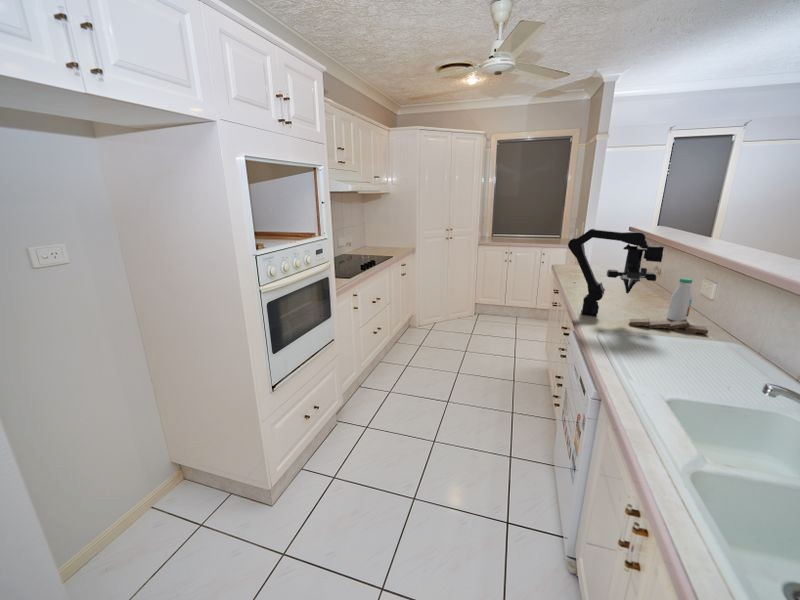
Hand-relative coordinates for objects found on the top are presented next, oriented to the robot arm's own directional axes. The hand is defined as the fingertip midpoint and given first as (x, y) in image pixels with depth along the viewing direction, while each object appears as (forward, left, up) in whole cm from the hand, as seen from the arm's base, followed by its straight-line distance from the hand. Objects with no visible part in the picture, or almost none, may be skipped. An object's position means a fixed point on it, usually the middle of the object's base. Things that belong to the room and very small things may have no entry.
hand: (627, 293), depth 164 cm
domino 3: (+16, -5, -12) cm, 21 cm away
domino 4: (+19, -5, -13) cm, 23 cm away
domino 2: (+9, -6, -12) cm, 17 cm away
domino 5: (+22, -6, -12) cm, 26 cm away
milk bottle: (+24, +11, -13) cm, 30 cm away
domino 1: (+2, -6, -12) cm, 14 cm away
